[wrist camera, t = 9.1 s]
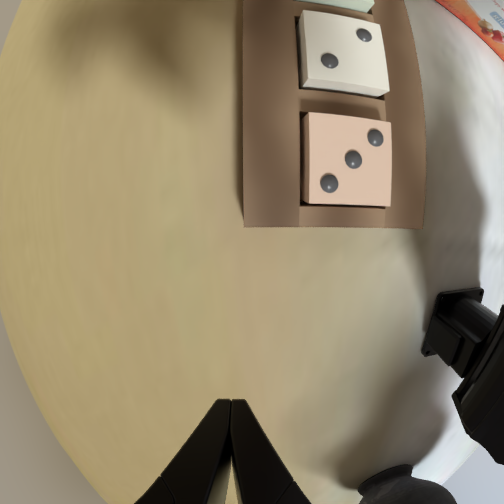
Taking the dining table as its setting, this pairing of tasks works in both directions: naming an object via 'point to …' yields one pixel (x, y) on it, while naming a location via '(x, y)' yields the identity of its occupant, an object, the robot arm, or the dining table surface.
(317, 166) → the tile three
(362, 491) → the pitcher
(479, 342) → the robot arm
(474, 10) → the cracker box
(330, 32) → the tile two
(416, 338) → the dining table surface
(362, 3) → the tile one
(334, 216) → the frame board
